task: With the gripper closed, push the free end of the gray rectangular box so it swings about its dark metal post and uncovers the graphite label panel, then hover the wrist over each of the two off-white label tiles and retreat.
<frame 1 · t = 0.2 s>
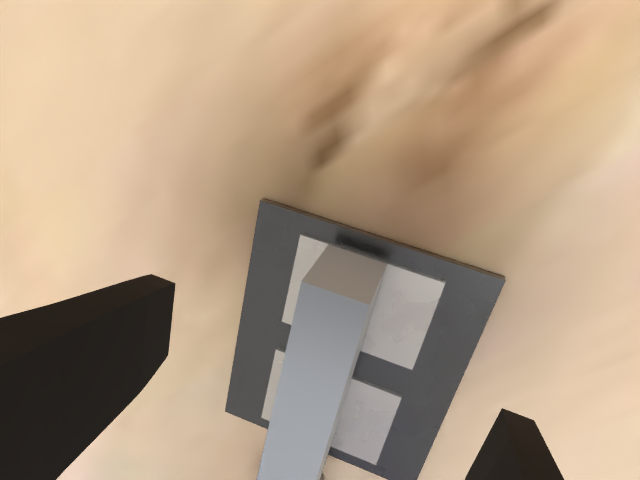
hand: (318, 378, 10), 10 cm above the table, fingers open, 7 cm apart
gray rectangular box: (313, 394, 20), point 2 cm above the table, hinge at 0.0°
label panel: (344, 352, 22), on the table
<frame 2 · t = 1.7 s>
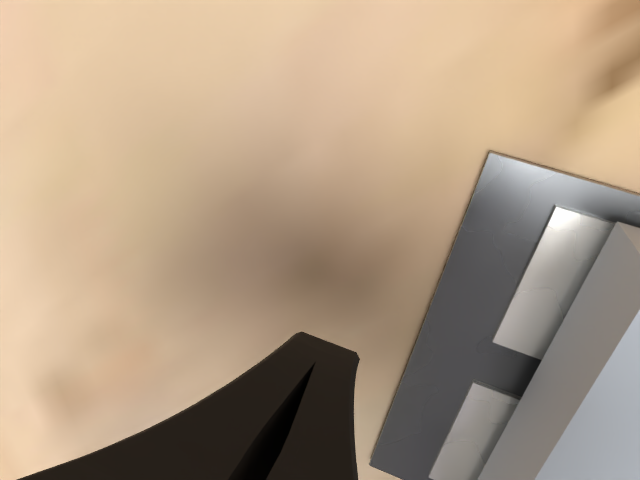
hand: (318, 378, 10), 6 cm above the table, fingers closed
gray rectangular box: (568, 460, 13), point 3 cm above the table, hinge at 0.0°
label panel: (582, 389, 15), on the table
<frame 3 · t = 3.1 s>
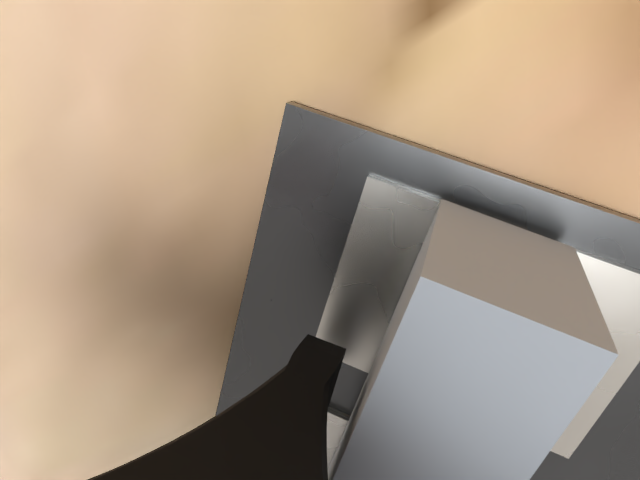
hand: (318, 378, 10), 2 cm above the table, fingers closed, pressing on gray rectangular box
label panel: (424, 411, 12), on the table
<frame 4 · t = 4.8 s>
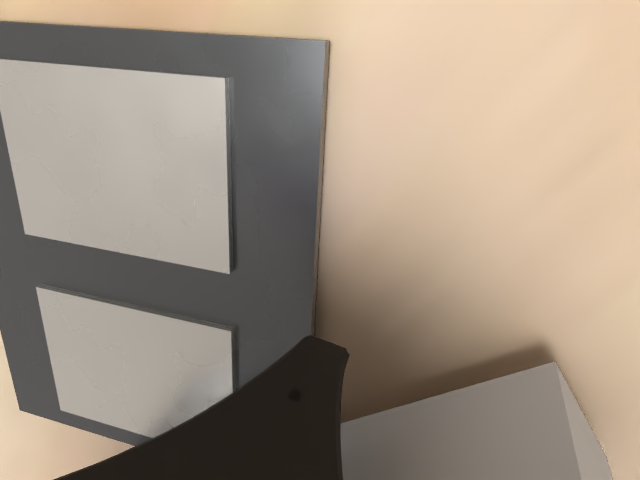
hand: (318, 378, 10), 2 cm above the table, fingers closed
label panel: (136, 272, 13), on the table
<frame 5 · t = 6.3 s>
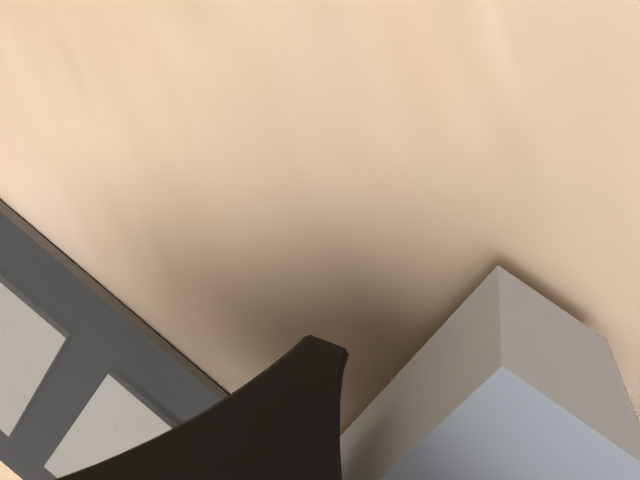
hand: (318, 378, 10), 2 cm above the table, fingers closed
label panel: (65, 398, 16), on the table
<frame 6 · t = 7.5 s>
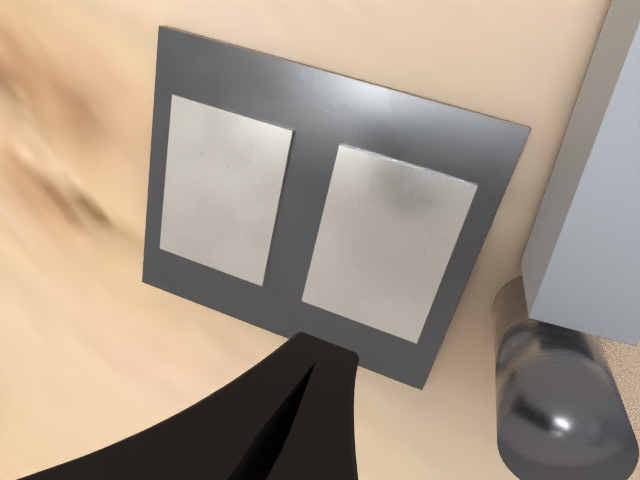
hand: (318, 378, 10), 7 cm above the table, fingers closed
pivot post: (539, 311, 16), on the table
label panel: (302, 217, 17), on the table
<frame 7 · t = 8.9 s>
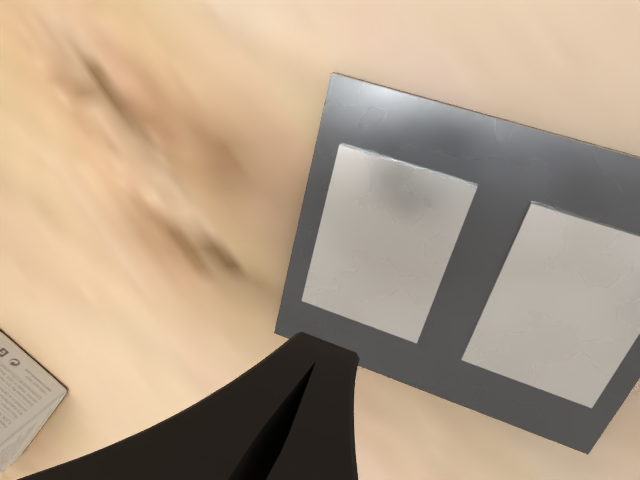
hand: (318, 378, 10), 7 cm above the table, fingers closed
small box: (4, 384, 27), on the table
label panel: (469, 273, 16), on the table
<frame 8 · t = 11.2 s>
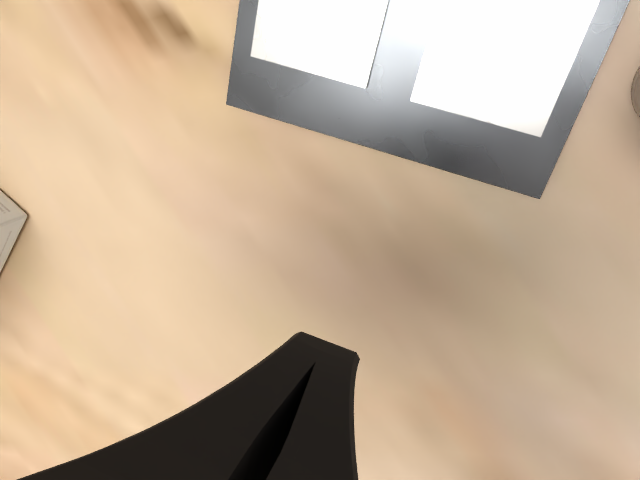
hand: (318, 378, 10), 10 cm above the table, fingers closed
label panel: (415, 0, 16), on the table
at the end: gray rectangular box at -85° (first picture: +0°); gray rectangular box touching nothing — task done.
